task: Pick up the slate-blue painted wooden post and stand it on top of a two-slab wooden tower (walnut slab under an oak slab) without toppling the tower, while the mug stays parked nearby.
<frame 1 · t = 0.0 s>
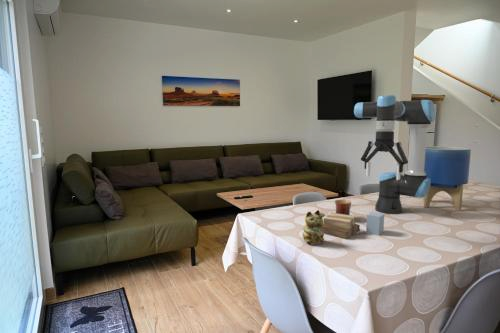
hand: (382, 177, 149), 28 cm above the table, fingers open, 13 cm apart
slab upper: (339, 225, 159), point 3 cm above the table, touching slab lower
mug: (343, 219, 180), on the table
slab lower: (339, 233, 160), on the table, touching slab upper
planter: (441, 206, 208), on the table
block: (374, 232, 159), on the table
decorative figurine: (312, 242, 147), on the table
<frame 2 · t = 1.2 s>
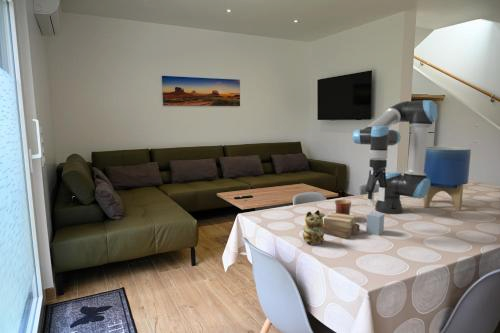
hand: (375, 203, 157), 15 cm above the table, fingers open, 13 cm apart
nothing on the table moved.
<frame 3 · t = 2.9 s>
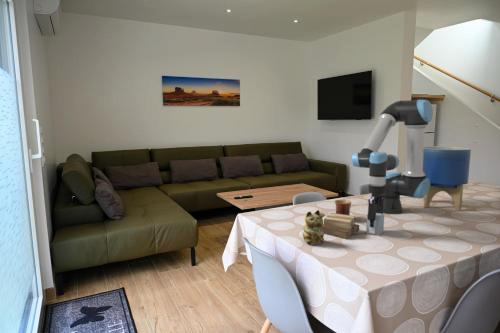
hand: (374, 231, 159), 0 cm above the table, fingers closed on block, 6 cm apart
block: (374, 232, 159), on the table, touching gripper
everything else where it was.
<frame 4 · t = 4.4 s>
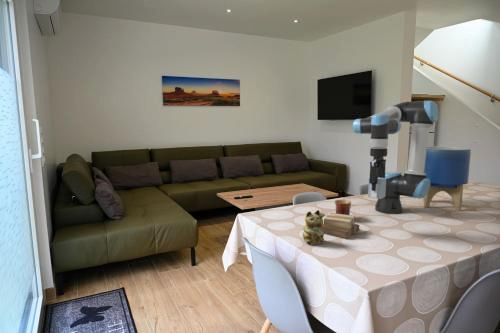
hand: (376, 195, 157), 18 cm above the table, fingers closed on block, 6 cm apart
block: (376, 196, 157), point 18 cm above the table, touching gripper
everything else where it was.
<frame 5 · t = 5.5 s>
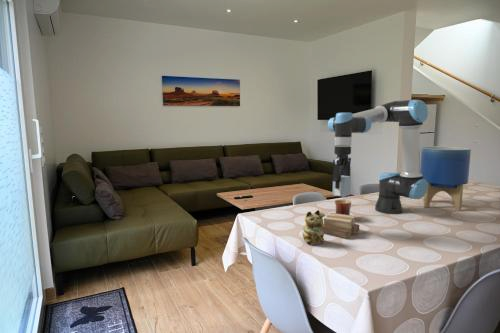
hand: (341, 194, 157), 19 cm above the table, fingers closed on block, 6 cm apart
block: (341, 194, 157), point 19 cm above the table, touching gripper
everything else where it was.
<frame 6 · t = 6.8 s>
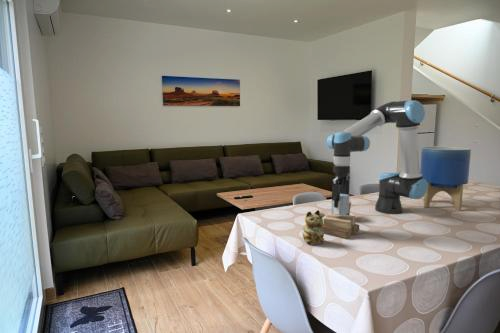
hand: (339, 212, 158), 10 cm above the table, fingers closed on block, 6 cm apart
block: (339, 213, 158), point 9 cm above the table, touching gripper
everything else where it was.
when the fingers open (9 cm above the table, at t = 7.2 s): block drops 1 cm, resting on slab upper.
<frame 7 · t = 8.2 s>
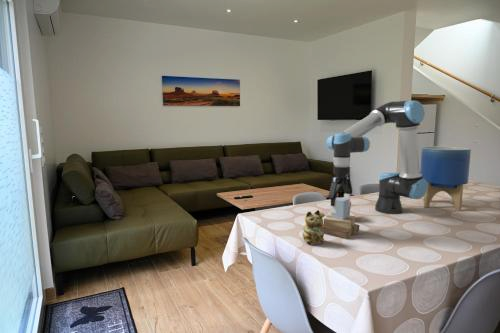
hand: (340, 209, 158), 11 cm above the table, fingers open, 13 cm apart
slab upper: (339, 225, 159), point 3 cm above the table, touching block, slab lower
block: (340, 217, 158), point 7 cm above the table, touching slab upper
everything else where it was.
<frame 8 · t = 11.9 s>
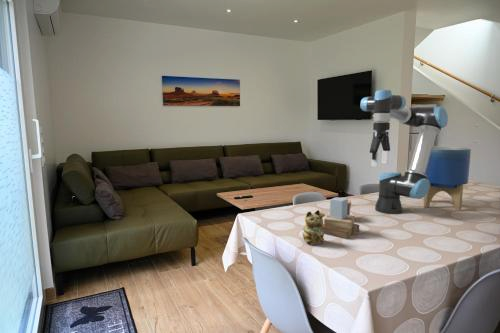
hand: (379, 164, 164), 32 cm above the table, fingers open, 13 cm apart
nothing on the table moved.
at the end: block inside the target area on the slab upper (0.4 cm from its centre), point 4.0 cm above the slab upper's base; block tilted 1°; slab upper tilted 0° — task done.
